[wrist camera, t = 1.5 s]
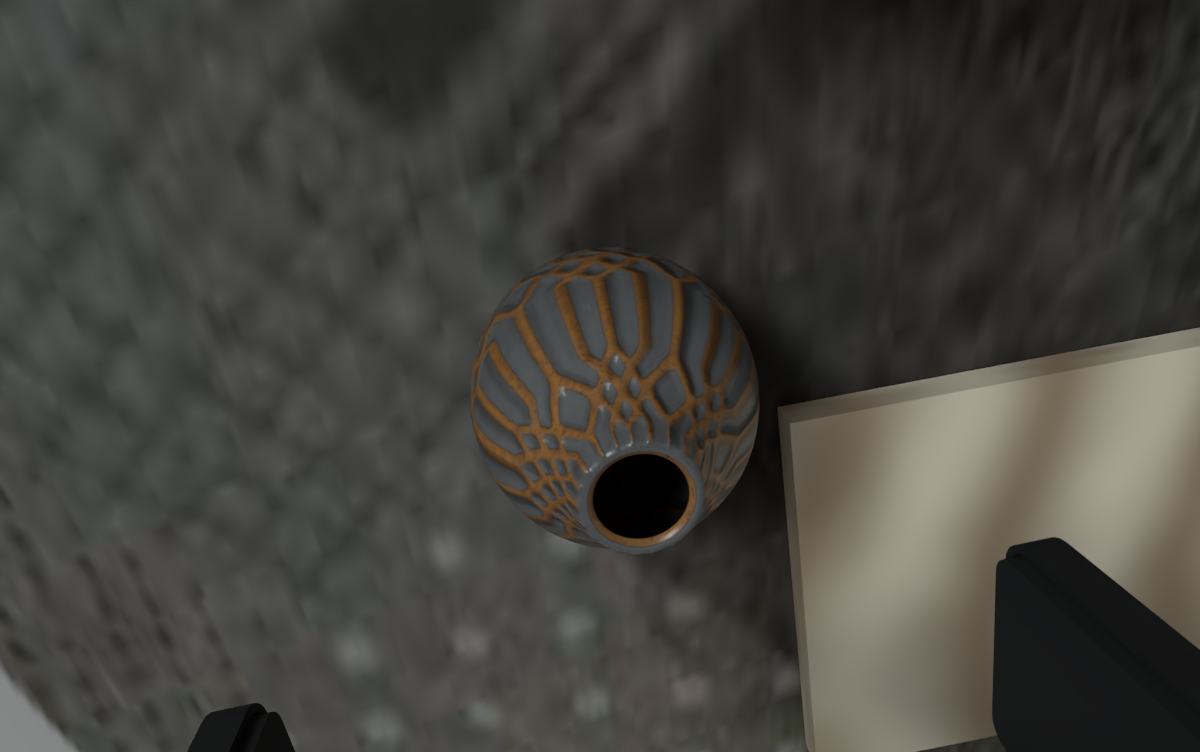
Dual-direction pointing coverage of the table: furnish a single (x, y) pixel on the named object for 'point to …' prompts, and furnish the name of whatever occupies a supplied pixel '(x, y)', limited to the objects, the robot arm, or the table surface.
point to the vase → (614, 399)
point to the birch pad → (978, 524)
